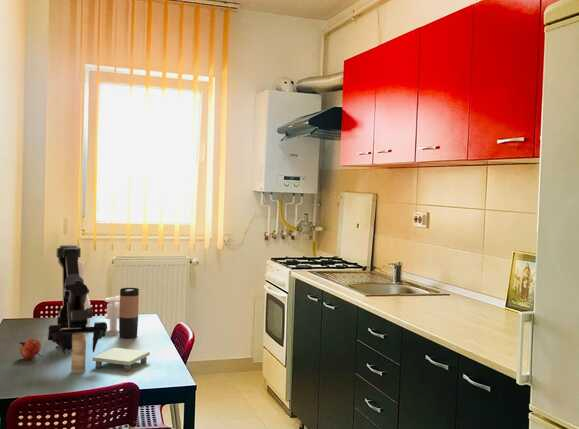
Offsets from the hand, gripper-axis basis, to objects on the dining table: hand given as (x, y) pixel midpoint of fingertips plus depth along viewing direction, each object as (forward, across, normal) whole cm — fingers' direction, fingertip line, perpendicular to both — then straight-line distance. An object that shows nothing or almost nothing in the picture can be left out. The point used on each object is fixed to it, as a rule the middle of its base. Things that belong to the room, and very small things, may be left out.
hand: (79, 352), depth 200 cm
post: (+4, 0, +6) cm, 7 cm away
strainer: (-37, +21, +46) cm, 63 cm away
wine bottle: (-38, +6, +48) cm, 61 cm away
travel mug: (-27, +25, +37) cm, 52 cm away
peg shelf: (+1, +15, +8) cm, 17 cm away
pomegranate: (-11, -14, +21) cm, 27 cm away
